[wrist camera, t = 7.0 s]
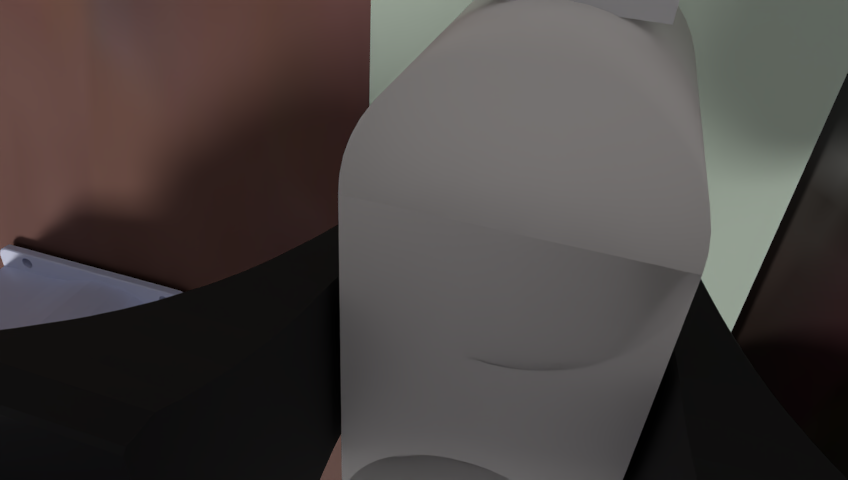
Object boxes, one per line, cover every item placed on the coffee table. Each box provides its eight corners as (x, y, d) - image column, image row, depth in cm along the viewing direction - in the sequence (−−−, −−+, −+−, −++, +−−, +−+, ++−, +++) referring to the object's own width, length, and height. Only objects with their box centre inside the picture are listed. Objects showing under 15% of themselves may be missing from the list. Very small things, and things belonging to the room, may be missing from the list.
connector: (424, 378, 16) (343, 566, 12) (484, -284, 9) (329, -357, 5) (588, 423, 15) (559, 643, 11) (805, -267, 8) (941, -337, 4)
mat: (371, 277, 24) (366, 285, 24) (383, -274, 15) (375, -276, 15) (712, 362, 22) (712, 373, 21) (977, -239, 12) (987, -240, 12)
